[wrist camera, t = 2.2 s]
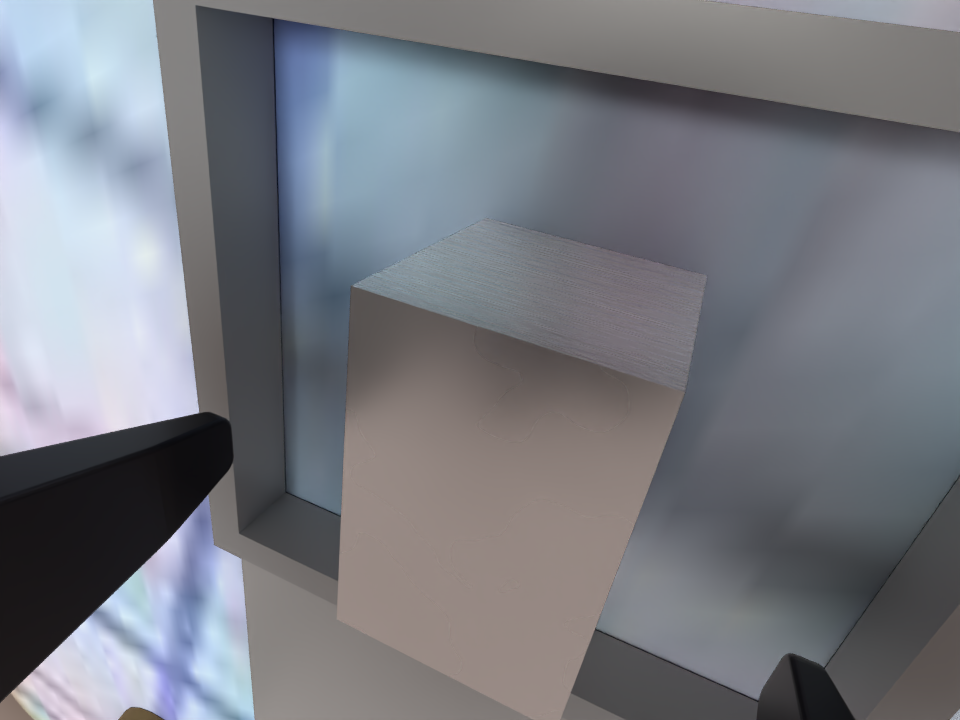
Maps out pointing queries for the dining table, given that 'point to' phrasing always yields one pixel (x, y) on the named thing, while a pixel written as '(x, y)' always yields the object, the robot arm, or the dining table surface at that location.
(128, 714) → the brown tapered mill
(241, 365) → the gray rectangular frame
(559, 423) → the block
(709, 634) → the dining table surface
